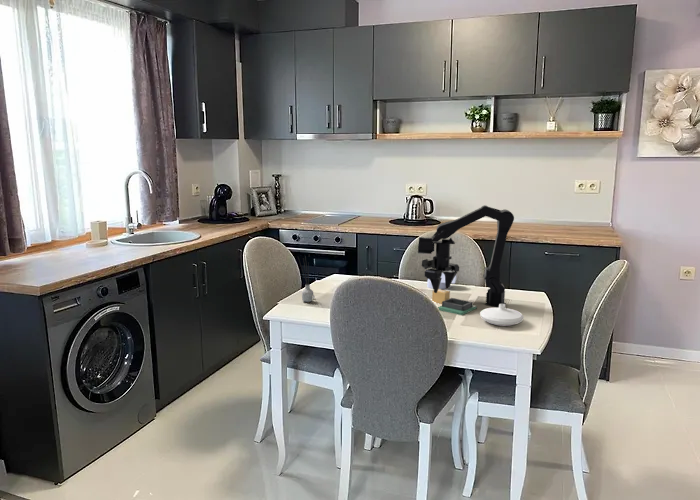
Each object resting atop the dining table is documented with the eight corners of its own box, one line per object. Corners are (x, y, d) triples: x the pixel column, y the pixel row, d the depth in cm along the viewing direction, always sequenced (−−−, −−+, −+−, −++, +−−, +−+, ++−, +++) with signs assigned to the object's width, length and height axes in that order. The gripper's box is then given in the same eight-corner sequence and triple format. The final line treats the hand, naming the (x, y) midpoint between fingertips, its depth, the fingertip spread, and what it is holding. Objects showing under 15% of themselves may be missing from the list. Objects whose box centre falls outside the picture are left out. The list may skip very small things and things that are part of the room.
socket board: (476, 308, 224) (476, 301, 224) (461, 315, 215) (462, 307, 215) (452, 303, 231) (452, 296, 231) (437, 309, 222) (437, 302, 222)
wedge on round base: (456, 285, 260) (428, 283, 264) (457, 271, 259) (429, 270, 262) (454, 290, 252) (426, 288, 255) (455, 276, 250) (426, 274, 254)
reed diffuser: (310, 305, 228) (309, 257, 224) (294, 303, 230) (293, 256, 226) (317, 298, 238) (316, 252, 234) (302, 297, 239) (301, 252, 236)
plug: (449, 302, 232) (449, 291, 231) (444, 305, 229) (444, 292, 228) (437, 300, 236) (437, 288, 235) (432, 302, 233) (432, 290, 232)
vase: (481, 328, 201) (482, 309, 199) (477, 315, 216) (478, 297, 215) (526, 330, 198) (527, 311, 197) (519, 317, 214) (520, 299, 212)
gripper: (437, 248, 241) (436, 283, 244) (413, 254, 227) (412, 291, 230) (460, 251, 234) (459, 287, 237) (437, 258, 220) (435, 296, 223)
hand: (441, 290), depth 232 cm, fingers open, 9 cm apart
